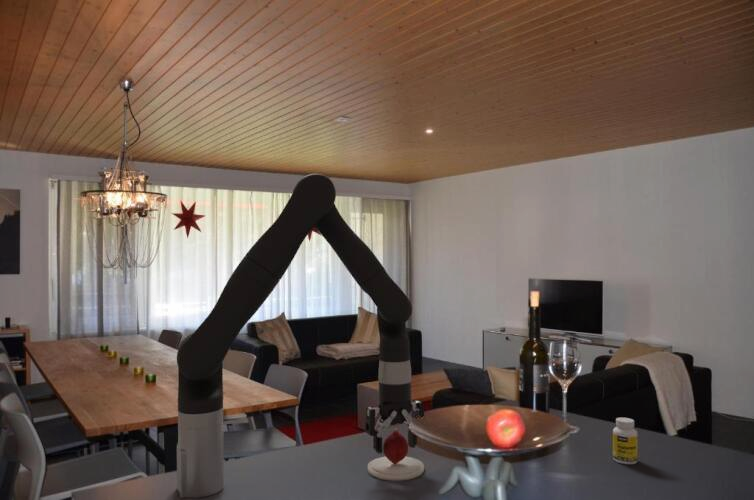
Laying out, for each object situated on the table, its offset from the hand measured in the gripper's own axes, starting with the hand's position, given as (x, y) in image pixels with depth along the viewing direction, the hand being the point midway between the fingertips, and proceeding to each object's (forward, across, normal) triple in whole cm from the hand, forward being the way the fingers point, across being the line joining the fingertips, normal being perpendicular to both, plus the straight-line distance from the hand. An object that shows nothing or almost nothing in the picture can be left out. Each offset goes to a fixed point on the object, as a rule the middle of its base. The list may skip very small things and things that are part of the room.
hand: (395, 449), depth 135 cm
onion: (+4, 0, 0) cm, 4 cm away
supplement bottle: (+5, +51, -20) cm, 55 cm away
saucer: (+5, 0, 0) cm, 5 cm away
